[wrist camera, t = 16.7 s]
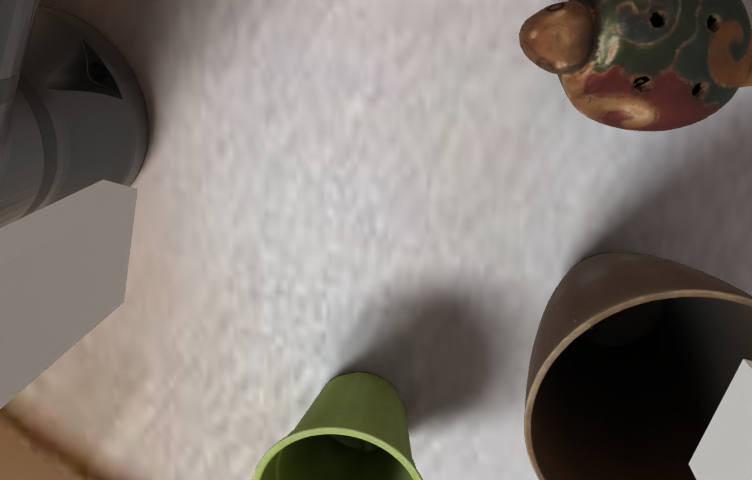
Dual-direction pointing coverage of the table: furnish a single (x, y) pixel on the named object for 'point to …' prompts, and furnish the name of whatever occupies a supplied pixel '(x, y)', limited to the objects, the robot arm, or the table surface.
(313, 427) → the plant pot
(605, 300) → the plant pot
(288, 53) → the table surface
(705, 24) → the decorative turtle
